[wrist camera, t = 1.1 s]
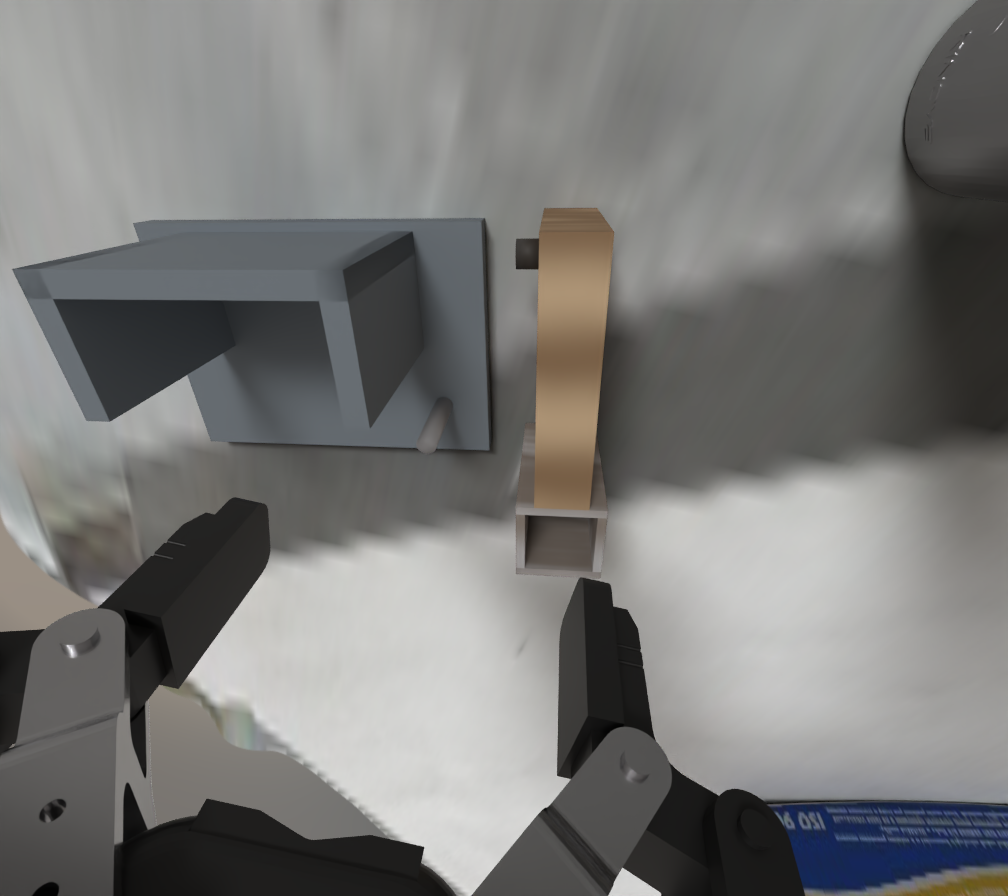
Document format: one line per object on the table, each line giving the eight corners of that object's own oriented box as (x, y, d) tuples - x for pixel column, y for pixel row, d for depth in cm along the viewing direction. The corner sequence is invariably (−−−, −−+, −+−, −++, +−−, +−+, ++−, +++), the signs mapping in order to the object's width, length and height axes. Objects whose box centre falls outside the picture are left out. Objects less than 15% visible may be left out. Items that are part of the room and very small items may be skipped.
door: (590, 483, 38) (600, 578, 30) (522, 480, 39) (512, 574, 30) (614, 207, 29) (639, 231, 20) (523, 208, 29) (509, 232, 20)
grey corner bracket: (484, 218, 30) (443, 256, 19) (491, 440, 37) (465, 557, 26) (150, 220, 31) (-61, 256, 21) (222, 431, 39) (95, 538, 28)
